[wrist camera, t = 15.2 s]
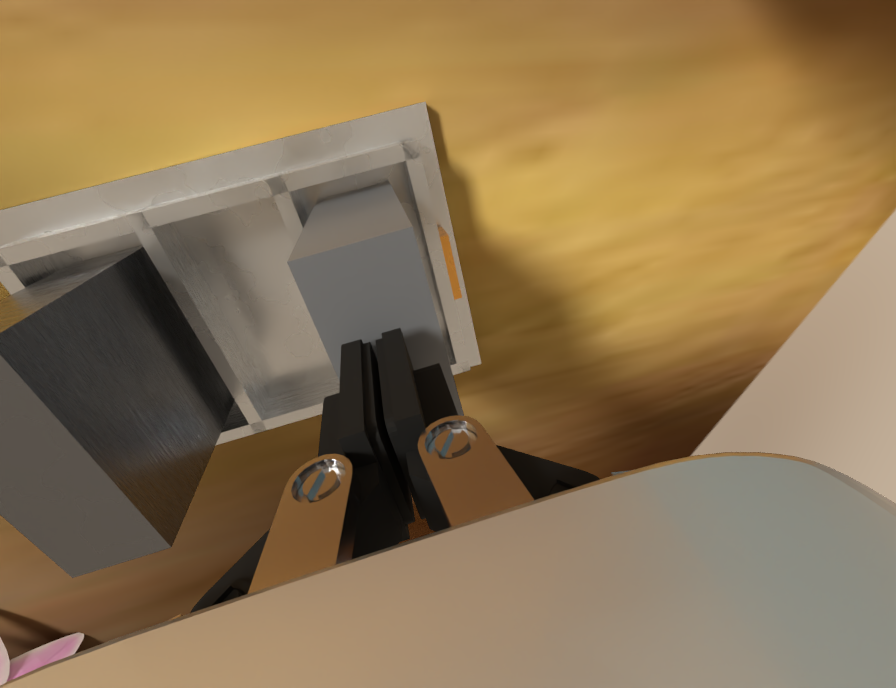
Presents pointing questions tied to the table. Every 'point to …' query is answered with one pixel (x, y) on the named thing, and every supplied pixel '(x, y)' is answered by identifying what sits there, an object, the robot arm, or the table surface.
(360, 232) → the panel
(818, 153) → the table surface
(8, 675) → the lily
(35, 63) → the table surface
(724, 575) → the robot arm
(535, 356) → the table surface
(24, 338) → the rack
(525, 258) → the table surface
